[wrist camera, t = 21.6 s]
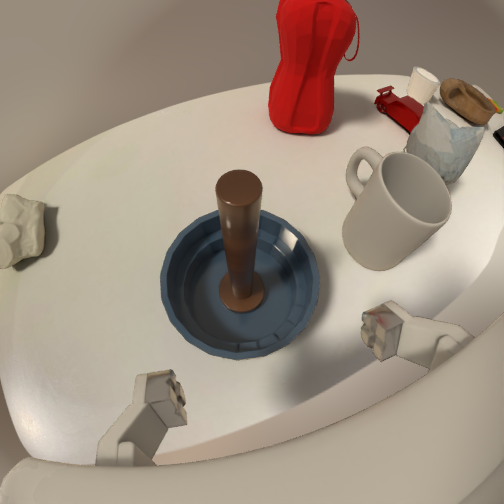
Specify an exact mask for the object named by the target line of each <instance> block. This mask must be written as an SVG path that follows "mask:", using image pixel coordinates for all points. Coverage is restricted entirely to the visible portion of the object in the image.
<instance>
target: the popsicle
mask: <svg viewBox="0 0 504 504" xmlns="http://www.w3.org/2000/svg"><path fill="white" fill-rule="evenodd" d="M487 99H488V98H487ZM488 100H489V101H491V103H492V104H493V105H494V107H495V109H496V112H497V113H500V114H501V113H502V112H503V110H504V109H503V108H501V107H499V106H498V104H497V103H496V102H495V101H493V100H491V99H488Z"/></svg>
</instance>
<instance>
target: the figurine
mask: <svg viewBox="0 0 504 504" xmlns="http://www.w3.org/2000/svg"><path fill="white" fill-rule="evenodd" d="M484 131H485V127H461V128H459V127H458V126H457V125H456V124H454V123H453V122H451V121H450V120H448V119H445V118H444V117H443V116H442V115H441V114H440V113H439V112H438V111H437V110H436V109H435V108H434V107H433V106H432V105H431V104H430V103H429V102H426V103H425V105H424V109H423V113H422V117H421V119H420V122H419V124H418V125H416V126H415V127H414V129H413V130H412V132H411V133H410V136H409V138H408V141H407V145H406V147H405V148H406V149H407V153H409V154H412V155H414V156H417V157H419V158H420V159H422V160H424V161H425V162H426V163H428V164H429V165H430V166H431V167H432V168H433V169H434V170H435V171H436V172H437V173H438V174H439V175H440V177H441V178H442V180H443V181H444V183H445V185H449V184H451V183H454V182H455V181H456V180H457V179H458V178H459V177H460V176H461V175H462V173H463V172H464V170H465V169H466V167H467V166H468V164H469V163H470V161H471V159H472V157H473V156H474V154H475V152H476V150H477V148H478V146H479V145H480V142H481V140H482V137H483V134H484ZM405 148H404V149H403V150H404V151H403V152H405Z"/></svg>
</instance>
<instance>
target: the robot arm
mask: <svg viewBox="0 0 504 504" xmlns="http://www.w3.org/2000/svg"><path fill="white" fill-rule="evenodd" d="M362 321H363V322H364V324H363V326H362V327H361V336H362V340H363V342H364V343H365V345H366V346H367V347H369V348H373V354H374V355H375V356H376V357H377V358H378V359H379V360H380V362H382V361H384V360H386V359H388V358H390V357H392V356H394V355H397V356H399V357H401V358H404V359H406V360H408V361H411V362H413V363H416V364H418V365H421V366H424V367H426V368H429V371H428V374H426V375H425V376H423V377H421V378H420V379H418V380H417V381H415V382H413V383H412V384H410V385H409V386H407V387H405V388H404V389H402V390H400V391H398V392H397V393H395V394H393V395H392V396H389V397H388V398H386V399H384V400H382V401H380V402H379V403H376V404H374V405H372V406H370V407H369V408H366V409H364V410H363V411H360V412H358V413H356V414H354V415H352V416H350V417H347V418H345V419H343V420H341V421H338V422H336V423H334V424H331V425H329V426H326V427H324V428H321V429H318V430H316V431H313V432H311V433H308V434H305V435H302V436H299V437H296V438H293V439H290V440H287V441H284V442H281V443H278V444H274V445H271V446H267V447H263V448H260V449H256V450H252V451H248V452H244V453H239V454H235V455H230V456H226V457H220V458H215V459H209V460H203V461H197V462H189V463H180V464H171V465H159V466H157V465H156V464H155V463H154V462H153V461H152V458H153V456H154V455H155V453H156V451H157V449H158V447H159V445H160V443H161V442H162V440H163V438H164V436H165V434H166V432H167V431H168V428H172V427H178V426H183V425H187V413H186V411H185V409H184V405H185V404H186V401H185V395H184V391H183V389H182V386H181V384H180V383H179V382H177V381H176V375H175V373H174V372H173V370H171V369H170V370H165V371H158V372H152V373H147V374H140V375H137V376H136V379H135V386H134V394H133V403H132V405H129V406H128V407H127V408H126V409H125V411H124V412H123V413H122V414H121V415H120V417H119V418H118V419H117V420H116V421H115V422H114V424H113V425H112V426H111V427H110V428H109V430H108V431H107V432H106V433H105V434H104V436H103V437H102V438H101V439H100V440H99V441H98V448H97V455H96V464H95V466H89V465H77V464H68V463H60V462H53V461H47V460H42V459H37V458H32V457H27V458H24V459H23V460H21V461H20V462H19V463H18V464H17V465H16V466H14V467H13V468H12V469H11V470H10V471H9V472H8V473H7V474H6V475H5V477H4V479H3V481H2V484H1V487H0V504H504V313H503V314H501V315H500V316H499V317H498V318H497V319H496V320H495V321H494V322H493V323H492V324H491V325H490V326H489V327H488V328H486V329H485V330H484V331H483V332H482V333H481V334H480V335H478V336H477V337H476V338H475V337H474V336H472V335H471V334H470V333H468V332H467V331H466V330H465V329H463V328H462V327H461V326H460V325H456V324H451V323H445V322H441V321H436V320H432V319H427V318H422V317H417V316H416V317H413V316H411V315H410V314H409V313H408V312H406V311H405V310H404V309H403V308H402V307H400V306H399V305H398V304H397V303H395V302H394V301H391V300H390V301H388V302H386V303H384V304H382V305H379V306H377V307H375V308H372V309H370V310H368V311H365V312H363V314H362Z"/></svg>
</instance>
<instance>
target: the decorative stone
mask: <svg viewBox="0 0 504 504" xmlns="http://www.w3.org/2000/svg"><path fill="white" fill-rule="evenodd" d="M44 209H45V205H44V203H43V202H39V201H30V200H27V199H25V198H22V197H21V196H19V195H14V194H6V195H5V196H4V198H3V200H2V202H1V206H0V269H5V268H8V267H11V266H12V265H14V264H16V263H17V262H19V261H20V260H21V259H24V258H28V257H33V256H39V255H40V254H41V253H42V251H43V248H44V236H45V229H44V219H43V216H44Z"/></svg>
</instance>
